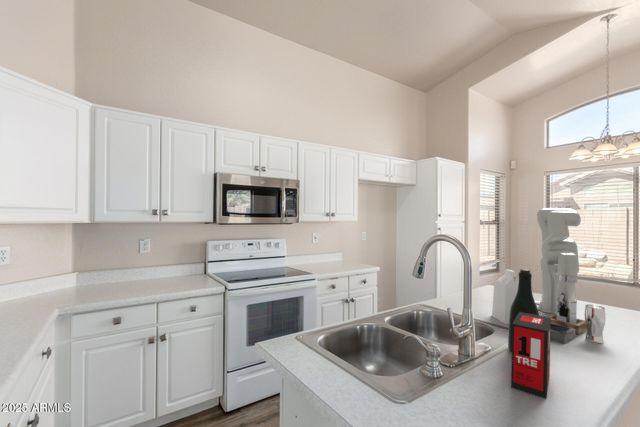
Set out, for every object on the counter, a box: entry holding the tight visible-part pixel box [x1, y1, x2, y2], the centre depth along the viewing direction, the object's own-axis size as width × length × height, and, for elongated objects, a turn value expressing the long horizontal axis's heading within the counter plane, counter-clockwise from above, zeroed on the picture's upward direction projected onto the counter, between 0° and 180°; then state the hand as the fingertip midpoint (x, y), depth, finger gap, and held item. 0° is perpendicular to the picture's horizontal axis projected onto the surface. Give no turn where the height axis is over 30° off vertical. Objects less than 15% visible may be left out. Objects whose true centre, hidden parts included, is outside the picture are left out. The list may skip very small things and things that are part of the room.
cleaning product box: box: [510, 312, 551, 400], centre depth 99 cm, size 16×9×20 cm, turn 141°
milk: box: [491, 269, 519, 325], centre depth 161 cm, size 12×12×26 cm
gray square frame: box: [550, 323, 576, 345], centre depth 140 cm, size 13×13×4 cm
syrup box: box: [557, 299, 578, 324], centre depth 150 cm, size 6×6×14 cm
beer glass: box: [584, 303, 607, 344], centre depth 136 cm, size 7×7×15 cm
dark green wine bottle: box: [507, 268, 540, 353], centre depth 121 cm, size 10×10×33 cm
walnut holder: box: [547, 314, 587, 337], centre depth 150 cm, size 13×13×4 cm
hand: (566, 314), depth 150 cm, fingers closed on syrup box, 7 cm apart
